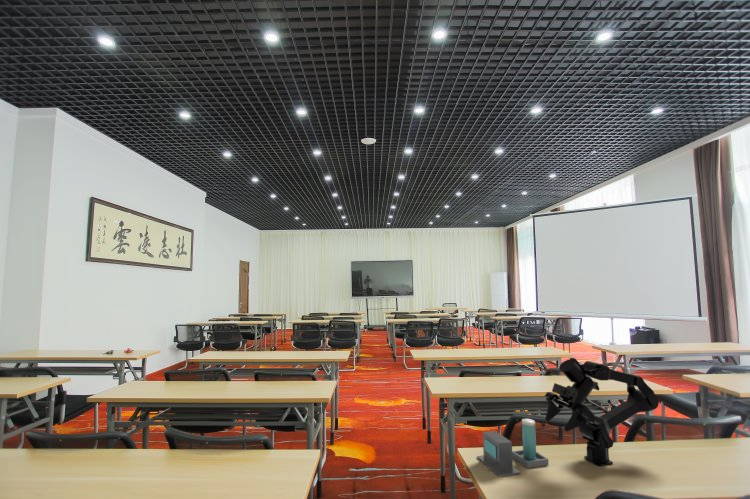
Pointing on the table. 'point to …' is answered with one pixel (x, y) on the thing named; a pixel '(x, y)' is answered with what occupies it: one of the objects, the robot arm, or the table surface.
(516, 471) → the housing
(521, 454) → the holder tray
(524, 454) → the canister
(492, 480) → the table surface
